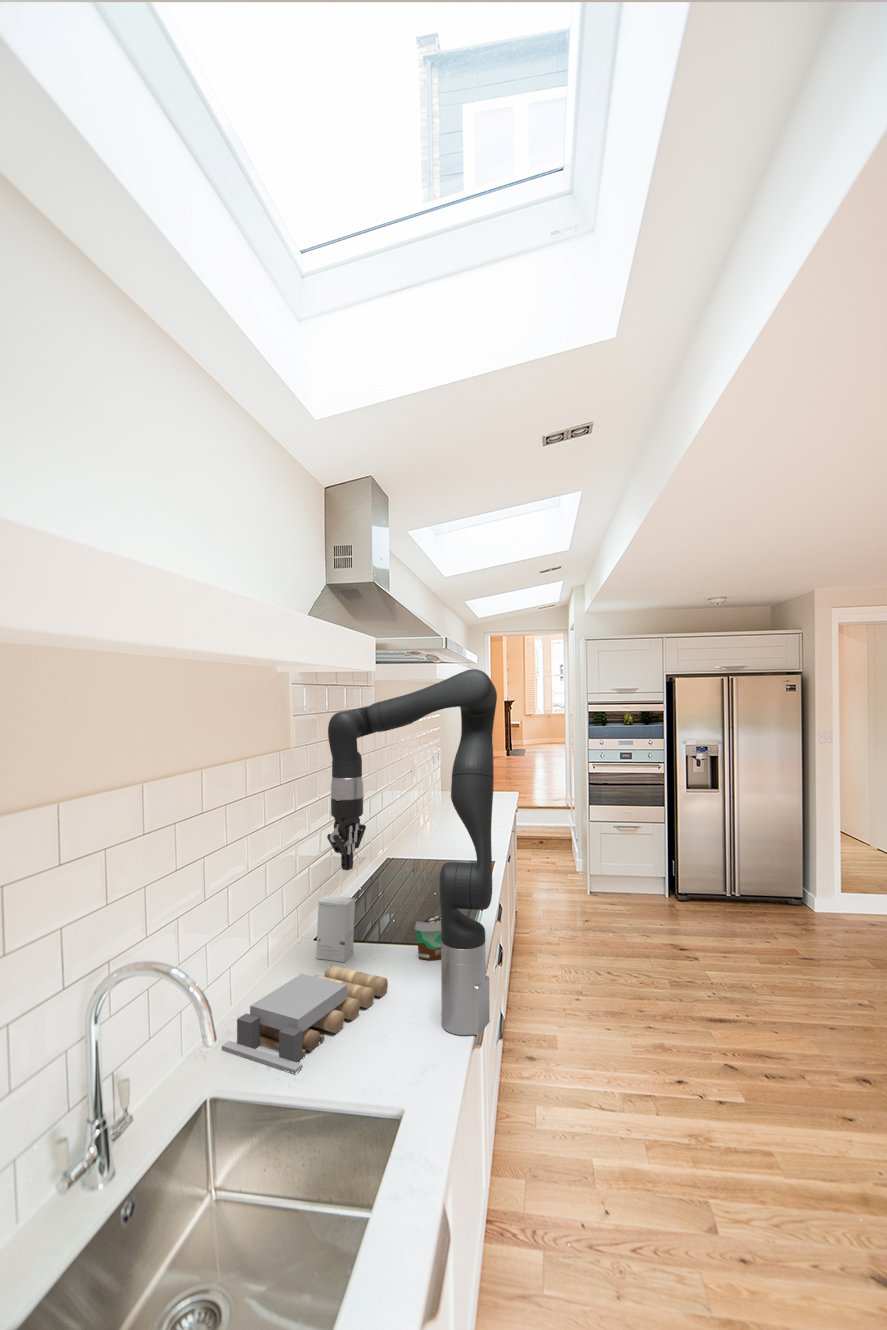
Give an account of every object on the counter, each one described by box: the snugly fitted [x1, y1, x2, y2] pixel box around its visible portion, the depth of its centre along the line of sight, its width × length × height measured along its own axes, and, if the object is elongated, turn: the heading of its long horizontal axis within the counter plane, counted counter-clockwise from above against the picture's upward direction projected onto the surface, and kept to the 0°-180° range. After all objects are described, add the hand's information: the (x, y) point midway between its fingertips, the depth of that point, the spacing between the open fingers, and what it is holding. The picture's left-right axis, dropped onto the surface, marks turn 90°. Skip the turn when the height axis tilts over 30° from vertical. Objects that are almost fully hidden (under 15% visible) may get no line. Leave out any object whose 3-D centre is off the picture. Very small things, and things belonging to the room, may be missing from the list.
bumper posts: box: [221, 1012, 303, 1073], centre depth 127 cm, size 18×4×6 cm, turn 63°
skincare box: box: [315, 894, 356, 963], centre depth 173 cm, size 8×6×15 cm
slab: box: [249, 973, 347, 1032], centre depth 137 cm, size 12×16×3 cm
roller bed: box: [260, 964, 389, 1059], centre depth 143 cm, size 15×30×4 cm, turn 153°
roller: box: [260, 1024, 320, 1053], centre depth 133 cm, size 14×4×4 cm, turn 63°
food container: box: [414, 913, 441, 962], centre depth 173 cm, size 12×6×10 cm, turn 143°
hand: (347, 869), depth 157 cm, fingers closed
